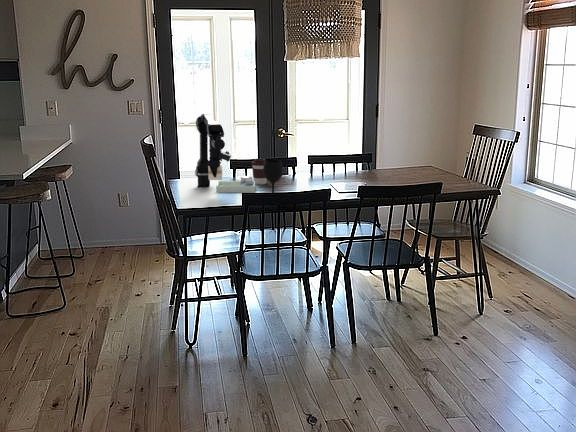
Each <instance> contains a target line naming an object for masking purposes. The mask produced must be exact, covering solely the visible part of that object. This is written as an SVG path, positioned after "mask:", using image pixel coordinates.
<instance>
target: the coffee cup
mask: <svg viewBox="0 0 576 432" xmlns="http://www.w3.org/2000/svg"><path fill="white" fill-rule="evenodd" d="M265 161H266V159H265V158H254V159H253V161H250V162H251V166H252V168H251V169H252V179H253V181H255V185H266V184H267V179H266V178H265V176H264V173H263V166H264V162H265Z"/></svg>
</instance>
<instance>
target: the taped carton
mask: <svg viewBox="0 0 576 432" xmlns="http://www.w3.org/2000/svg"><path fill="white" fill-rule="evenodd" d="M208 176H209V180H210V181H223V165H220V166H219V167H218V169H217V175H216V177H214V176H213V174H212V171H211V169H210V167H208Z"/></svg>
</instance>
